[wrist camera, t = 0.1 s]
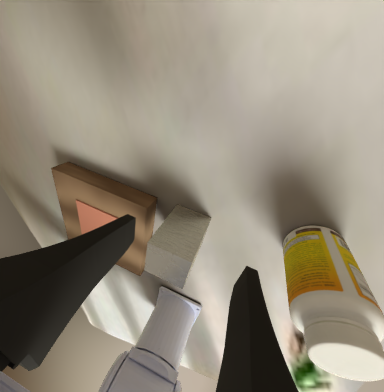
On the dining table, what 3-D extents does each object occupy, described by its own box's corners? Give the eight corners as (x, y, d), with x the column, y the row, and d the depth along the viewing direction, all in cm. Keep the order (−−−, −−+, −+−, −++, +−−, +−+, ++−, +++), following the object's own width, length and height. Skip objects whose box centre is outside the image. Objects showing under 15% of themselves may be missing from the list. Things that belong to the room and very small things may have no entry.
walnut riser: (148, 263, 31) (139, 277, 29) (80, 231, 33) (67, 241, 31) (157, 197, 23) (145, 209, 21) (68, 161, 26) (49, 168, 23)
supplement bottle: (274, 252, 21) (278, 357, 13) (295, 215, 18) (319, 321, 10) (326, 270, 20) (368, 398, 12) (358, 234, 17) (444, 371, 9)
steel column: (202, 242, 25) (182, 289, 19) (171, 229, 25) (144, 270, 20) (211, 217, 22) (192, 262, 16) (177, 204, 23) (147, 242, 17)
